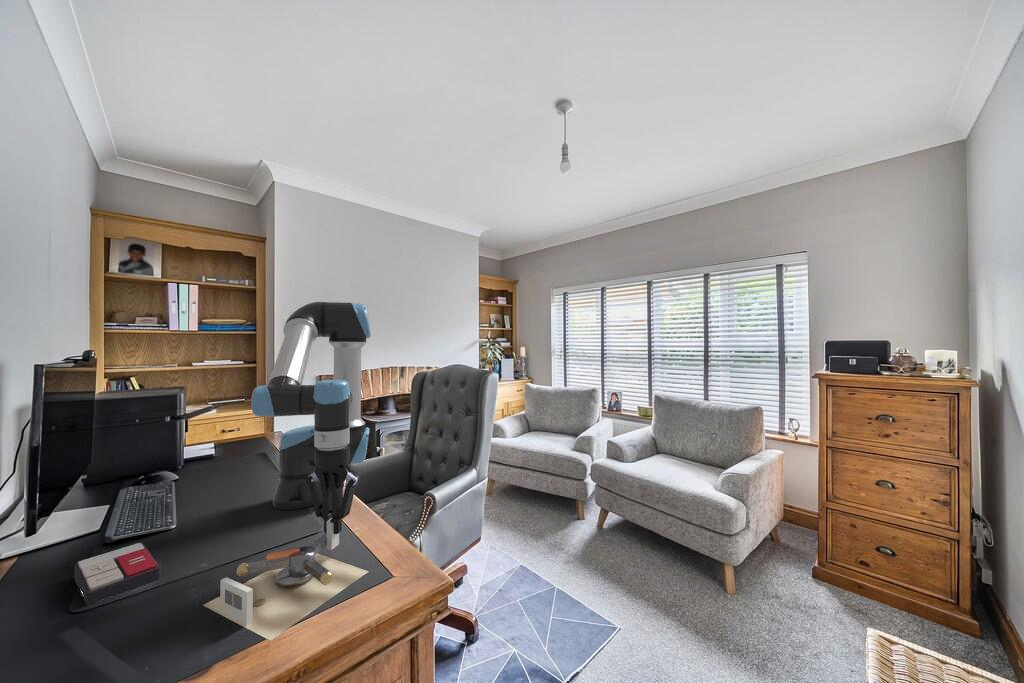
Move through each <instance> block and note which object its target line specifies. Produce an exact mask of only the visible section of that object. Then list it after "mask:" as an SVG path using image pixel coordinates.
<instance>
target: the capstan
mask: <svg viewBox="0 0 1024 683" xmlns="http://www.w3.org/2000/svg"><path fill="white" fill-rule="evenodd" d="M326 547H327V533H324V534H323V535H322V536H320V537H319V538H318V539H317V540H316V541H314V542H313V543H312V544H310V546H309V545H308V546H307V545H306V546H301V547H298V548H293V549H289V550H288V549H287V550H281V551H276V552H270V553H267V554H266V557H265V559H263V560H257V561H251V562H243V563H241V564H239V565H238V567H237V568H236V575H237V576H239V577H245V576H248V575H254V574H261V573H264V572H266V571H271V570H276V569H282V568H283V569H282V570H281V571H279V572H278V574H277V576H276V583H277V585H279V586H281V587H293V586H297V585H300V584H302V583H304V582H306V581H308V580H309V579H311V578H312V577H314V578H316V579H317V580H318V581H319V582H321V584H323V585H328V584H330V583H331V582H332V580H333V573H332V572H331V571H329V570H327V569H326V568H325V567H323V566H322V565H321V564H319V563H318V562H316V561H315V555H316V554H317V553H318V554H319V552H320V551H322V550H323V549H324V548H326Z"/></svg>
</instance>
